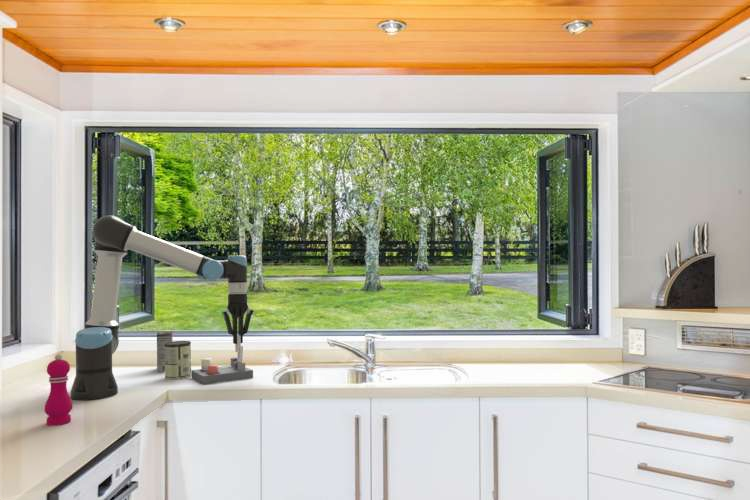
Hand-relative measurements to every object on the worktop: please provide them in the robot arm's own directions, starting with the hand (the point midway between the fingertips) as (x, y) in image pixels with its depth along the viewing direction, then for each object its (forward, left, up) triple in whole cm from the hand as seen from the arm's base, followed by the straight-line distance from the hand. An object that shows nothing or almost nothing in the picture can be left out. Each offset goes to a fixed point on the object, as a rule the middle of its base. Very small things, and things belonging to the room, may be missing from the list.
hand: (238, 351), depth 233 cm
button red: (-10, 0, -9) cm, 14 cm away
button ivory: (-10, +8, -8) cm, 15 cm away
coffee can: (-19, +17, -11) cm, 28 cm away
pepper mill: (-66, -31, -11) cm, 74 cm away
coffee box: (-19, +38, -11) cm, 44 cm away
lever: (+1, 0, -6) cm, 6 cm away
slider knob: (+2, +8, -7) cm, 11 cm away
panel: (-5, +4, -10) cm, 12 cm away
